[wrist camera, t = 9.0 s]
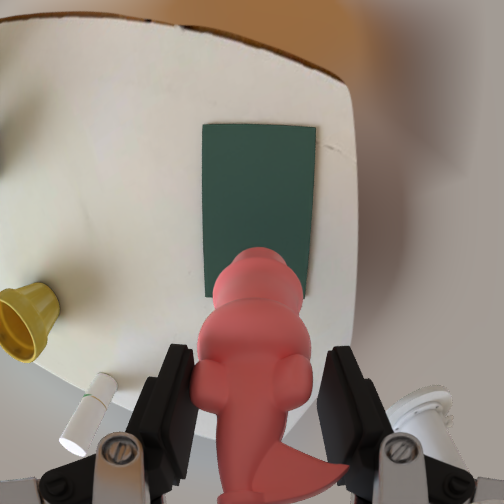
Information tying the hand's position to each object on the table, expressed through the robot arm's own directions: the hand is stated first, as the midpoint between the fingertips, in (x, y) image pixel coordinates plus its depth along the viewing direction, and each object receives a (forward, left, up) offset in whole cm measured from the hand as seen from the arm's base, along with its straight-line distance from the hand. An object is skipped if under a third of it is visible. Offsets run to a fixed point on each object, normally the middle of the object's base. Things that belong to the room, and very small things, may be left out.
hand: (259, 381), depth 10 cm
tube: (+24, +27, -25) cm, 44 cm away
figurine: (0, 0, -10) cm, 10 cm away
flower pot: (+32, +12, -25) cm, 42 cm away
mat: (0, -1, -24) cm, 24 cm away
